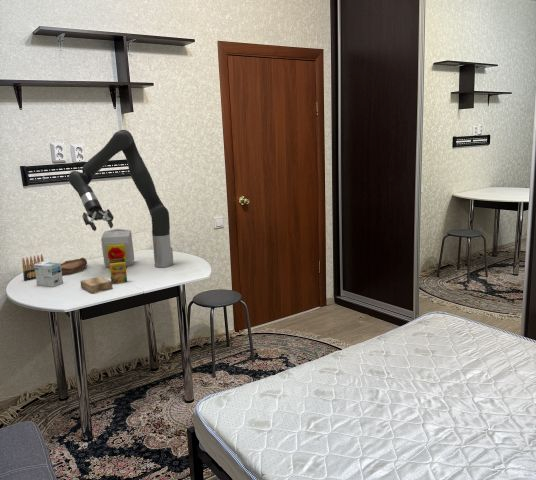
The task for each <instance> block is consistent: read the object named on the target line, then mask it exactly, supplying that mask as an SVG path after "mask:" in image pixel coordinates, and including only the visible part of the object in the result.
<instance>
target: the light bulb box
mask: <svg viewBox="0 0 536 480" xmlns="http://www.w3.org/2000/svg"><path fill="white" fill-rule="evenodd" d="M33 264H34V263H33ZM61 264H62V263H61V262H58V261H57V262H56V261H45V260H44V261H43V262H41V261H40V263H37V264H34V268H35V275H36V279H35V280H36V286H41V287H42V286H43V287H51V288H54V287H57V286H59V285H61V284H63V283H64V279H63V275H62V271H61Z"/></svg>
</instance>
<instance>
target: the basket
mask: <svg viewBox="0 0 536 480" xmlns="http://www.w3.org/2000/svg"><path fill="white" fill-rule="evenodd" d="M87 265H88V261H87V258H86V257H81V258H76V259H71V260H70V259H69V260H66V261H63V263H61V271H62V276H63V275H70V274H75V273H77V272H79V271H82V270H83V269H85V268H86V267H87Z"/></svg>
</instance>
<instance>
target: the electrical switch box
mask: <svg viewBox="0 0 536 480" xmlns="http://www.w3.org/2000/svg"><path fill="white" fill-rule="evenodd" d="M100 239H101V240H100V241H101V249H102V256H103V263H104V266H105V268H110V260H111V259H120V258H125V263H126V267H130V266H129V265H132V266H133V264H134V261H135V252H134V243H133V236H132V230H131V229H123V228H115V229H110V230H105V231H104V232H103V233H102V235H101V238H100ZM115 261H116V262H118V261H120V260H114V262H115Z"/></svg>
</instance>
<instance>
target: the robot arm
mask: <svg viewBox="0 0 536 480" xmlns="http://www.w3.org/2000/svg"><path fill="white" fill-rule="evenodd" d="M120 152H122V153H123V155H124V156H125V157H124V158H125V160H126V162H127V163H126V164H127V167H128V171H129V175H130V177H131V180H132V181H133V183H134V185H135V186H136V189H137V190H138V192H139V193H140V195H141V196H142V199H144V202H145V204H146V205H147V209H148V212H149V215H150V218H151V236H152V247H153V261H154V267H155V268H167V267H171V266H173V265H174V264H175V262H174V255H173V254H174V253H173V251H174V250H173V247H172V245H171V233H170V231H171V227H170V225H171V224H170V222H171V221H170V213H169V210H168V208H167V207H166V206H165V205H164V203H163V202H162V200H161V198H160V197H159V194H158V193H157V189H156V186H155V183H154V179H153V178H152V176H151V174H150V172H149V169H148V168H147V166H146V164H145V162H144V160H143V158H142V156H141V155H140V152H139V150H138V148H137V145H136V143H135V140H134V137H133V135H132V134H131V132H130V131H129V130H127V129H120V130H118V131H115V132H114V133H113V134H112V137H111V138H110V139H109V141H107V143H106V144H105V145H104V147H103V148H101V149H100V150H99V151H98V152H97V153H96V154H94V155H93V156H92V157H91V158H90V159H89V160H88V161H87V162H85V163H84V164H83V166H82V170H83V171H84V172H80V171H78V170H72V171H71V172H70V173H69V174H68V182H69V184H70V185H71V187H72V188H73V189H74V191H76V193H77V194H78V197H79V198H80V200H81V203H82V206H83V208H84V210H85V211H86V212H83V213H82V214H81V215H82V219H83V221H84V225H86V226H90V228H91V230H92V231H94V232H96V231H97V226H96V224H95V222H94V221H104V222H107V225H108V226H109V228H110V229H112V228H113V227H114V223H113V220H114V218H115V217H114V215H113V214H112V212H111V211H110V209H106V210H104V209H103V207H102V205H101V203H100V201H99V199H98V197H97V196H96V194H95V193H94V191H93V189H92V187H91V186H90V183H91V182H92V180H93V178H94V176H95V175H96V174H97V173H99V171H100V170H101V169H102V168H103V167H105V165H106V164H107V163H108V162H109V161H110V160H111V159H112V158H113V157H114V156H116V155H117V154H119V153H120ZM88 217H89V218H90V220H89V218H88Z"/></svg>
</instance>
